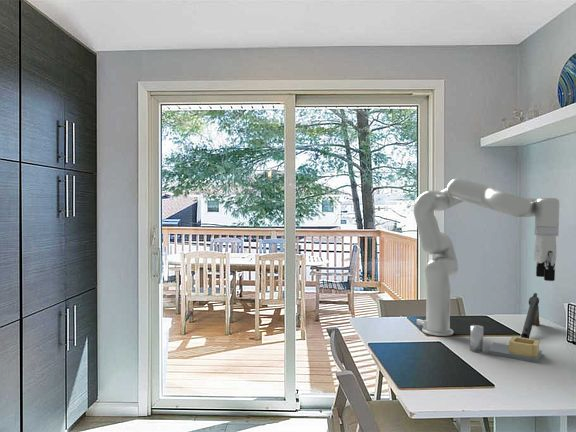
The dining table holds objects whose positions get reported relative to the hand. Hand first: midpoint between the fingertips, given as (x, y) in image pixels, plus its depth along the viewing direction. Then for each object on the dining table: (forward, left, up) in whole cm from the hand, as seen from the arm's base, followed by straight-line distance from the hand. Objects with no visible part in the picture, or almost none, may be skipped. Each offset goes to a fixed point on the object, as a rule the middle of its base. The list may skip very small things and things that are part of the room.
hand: (545, 278), depth 163 cm
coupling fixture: (-8, -7, -27) cm, 30 cm away
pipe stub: (-20, -12, -27) cm, 36 cm away
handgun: (-7, +30, -28) cm, 42 cm away
